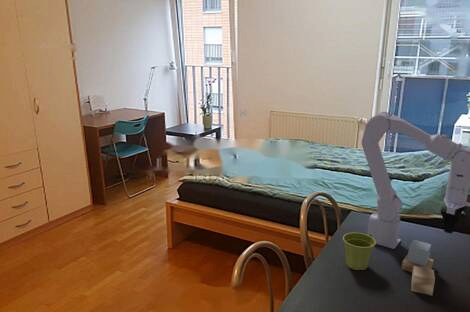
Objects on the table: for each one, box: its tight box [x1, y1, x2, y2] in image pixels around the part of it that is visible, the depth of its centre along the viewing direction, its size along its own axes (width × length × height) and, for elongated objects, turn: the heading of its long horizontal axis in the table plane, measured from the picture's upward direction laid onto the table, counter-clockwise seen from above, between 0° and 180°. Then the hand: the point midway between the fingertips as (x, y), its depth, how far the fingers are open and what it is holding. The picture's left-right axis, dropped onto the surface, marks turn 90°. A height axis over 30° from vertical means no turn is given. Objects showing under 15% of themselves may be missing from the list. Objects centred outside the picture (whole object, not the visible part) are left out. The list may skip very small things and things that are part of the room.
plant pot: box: [342, 232, 377, 271], centre depth 113 cm, size 9×9×9 cm
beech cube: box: [411, 266, 436, 296], centre depth 103 cm, size 5×5×5 cm
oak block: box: [401, 253, 434, 274], centre depth 113 cm, size 7×7×3 cm
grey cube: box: [407, 239, 432, 267], centre depth 112 cm, size 5×5×5 cm
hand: (450, 228), depth 117 cm, fingers open, 7 cm apart
